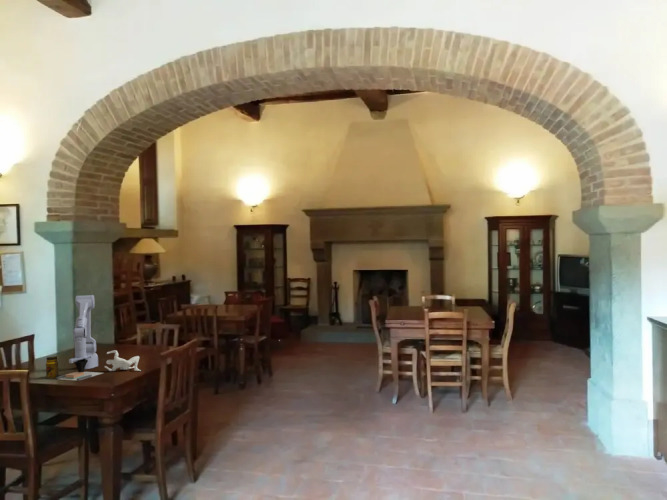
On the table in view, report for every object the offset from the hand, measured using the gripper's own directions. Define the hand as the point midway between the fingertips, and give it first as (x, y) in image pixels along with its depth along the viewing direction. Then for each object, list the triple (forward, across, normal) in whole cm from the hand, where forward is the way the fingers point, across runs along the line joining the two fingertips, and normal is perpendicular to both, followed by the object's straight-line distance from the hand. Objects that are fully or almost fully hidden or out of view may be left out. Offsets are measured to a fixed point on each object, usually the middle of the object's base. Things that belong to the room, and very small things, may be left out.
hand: (81, 373), depth 294 cm
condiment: (+2, -7, +13) cm, 15 cm away
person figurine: (+2, +16, -15) cm, 22 cm away
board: (+2, -2, -1) cm, 3 cm away
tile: (0, -1, 0) cm, 1 cm away
